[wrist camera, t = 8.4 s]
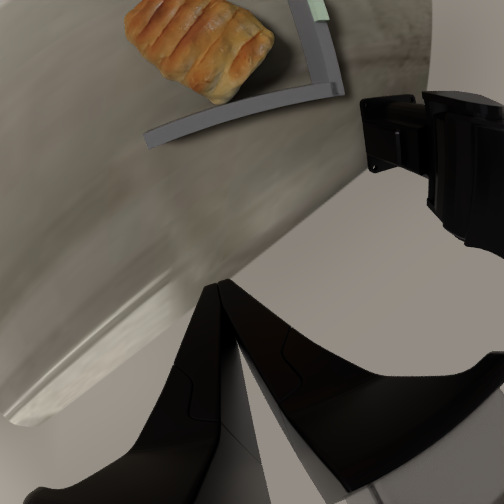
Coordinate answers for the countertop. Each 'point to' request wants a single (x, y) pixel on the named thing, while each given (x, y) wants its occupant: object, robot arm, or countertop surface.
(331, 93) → the dock
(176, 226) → the countertop surface
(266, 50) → the pastry
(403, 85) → the countertop surface
